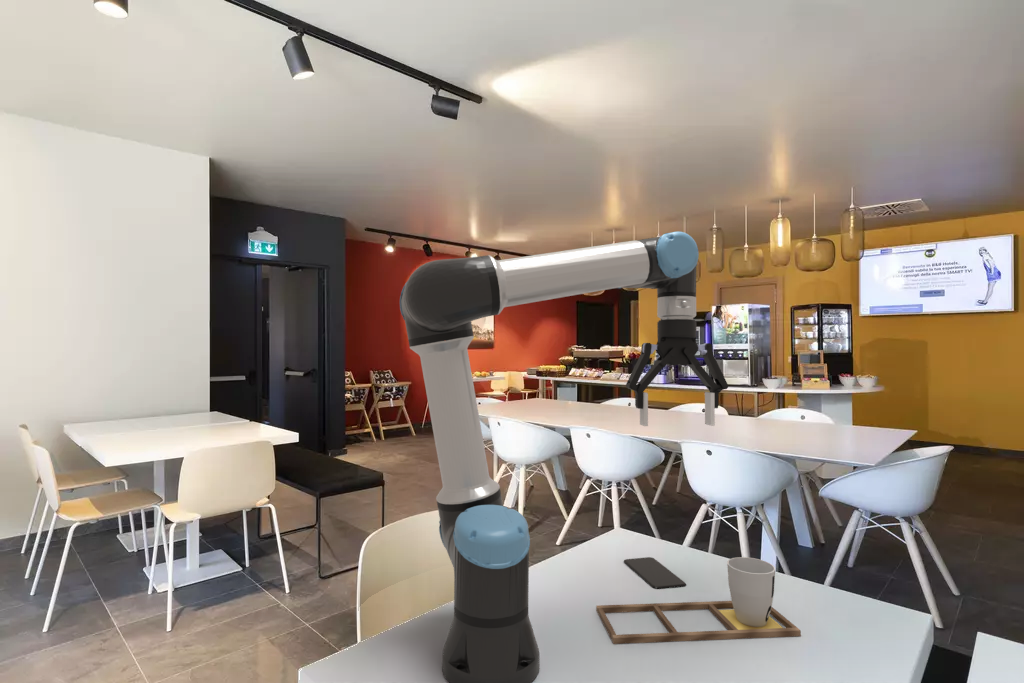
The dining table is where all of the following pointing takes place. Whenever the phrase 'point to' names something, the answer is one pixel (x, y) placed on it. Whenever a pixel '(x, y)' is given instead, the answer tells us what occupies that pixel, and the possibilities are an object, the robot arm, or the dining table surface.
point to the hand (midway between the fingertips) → (676, 425)
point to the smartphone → (654, 573)
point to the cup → (751, 589)
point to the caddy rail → (724, 616)
